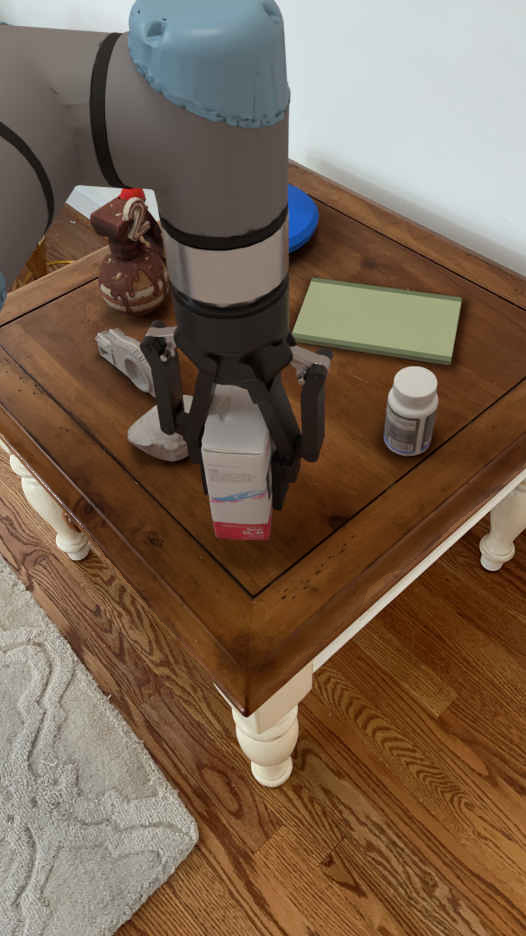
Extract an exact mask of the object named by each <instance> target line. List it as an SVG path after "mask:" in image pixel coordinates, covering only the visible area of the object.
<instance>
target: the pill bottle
mask: <svg viewBox="0 0 526 936" xmlns="http://www.w3.org/2000/svg"><path fill="white" fill-rule="evenodd" d="M437 389H438V379H437V377H436V375H435V374H434V372H433V371H431V370H429V369H427V368H425V367H423V366H416V365H415V366H414V365H413V366H412V365H411V366H407V367H404V368H402V369H400V370H399V371H398V372H396V374H395V375H394V378H393V383H392V387H391V389H390V390H389V392H388V395H387V401H386V411H385V419H384V428H383V429H384V430H383V441H384V443H385V446H386V447H387V448H388V449H389V450H390V451H391V452H393V453H394V454H396V455H399V456H403V457H413V456H417V455H420V454H422V453H424V452H426V451H427V450H428V448H429V447H430V444H431V442H432V437H433V433H434V427H435V423H436V417H437V412H438V411H437V410H438V406H439V396H438V393H437V391H438V390H437Z"/></svg>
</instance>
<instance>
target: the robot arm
mask: <svg viewBox="0 0 526 936" xmlns="http://www.w3.org/2000/svg"><path fill="white" fill-rule="evenodd" d="M286 50H287V49H286V36H285V21H284V17H283V14H282V11H281V8H280V6H279V5H278V4H277V2H276V0H135V2H133V4H132V6H131V8H130V11H129V15H128V31H124V32H117V31H114V32H108V31H94V30H93V31H92V30H81V29H79V30H78V29H65V28H52V27H39V26H38V27H37V26H27V25H25V26H24V25H15V24H11V23H10V24H8V23H7V22H5V21H0V313H1V312H2V310H3V309H4V306H5V305H6V300H7V298H8V293H9V292H10V289H11V288H12V286H13V285H14V283H15V282H16V280H17V278H18V277H19V275H20V274H21V272H22V270H23V269H24V268H25V266H26V264H27V263H28V261H29V259H30V258H31V256H32V255H33V253H34V252H35V250H36V248H37V247H38V246H39V244H40V242H41V240H42V239H43V238H44V236H45V235H46V234H47V232H48V231H49V229H50V228H51V226H52V225H53V224H54V221H55V220H56V218H57V217H58V216H59V213H60V212H61V210H62V209H63V207H64V206H65V204H66V202H68V199H69V198H70V196H71V195H72V193H73V191H74V190H75V188H76V187H79V186H83V187H85V186H86V187H94V188H95V187H96V188H108V189H110V188H112V189H121V190H122V189H133V188H139V189H143V190H150V191H153V193H154V197H155V201H156V206H157V212H158V213H157V214H158V219H159V222H160V226H161V227H160V229H161V231H162V233H161V235H162V238H163V243H164V250H165V258H166V265H167V272H168V275H169V279H170V286H169V288H170V293H171V294H170V295H171V299H172V306H173V312H174V318H175V324H176V326H167V325H166V323H164V322H163V321H162V320H159V319H158V320H157V319H156V320H153V321H152V322H151V323H150V325H149V327H148V329H147V330H146V332H145V335H144V336H143V338H142V340H141V342H140V350H141V352H142V353H143V355H144V357H145V358H146V360H147V362H148V364H149V365H150V367H151V373H152V379H153V385H154V392H155V397H154V399H155V403H156V405H157V410H158V416H159V422H160V429H161V431H162V432H163V433H165V434H167V435H173V434H174V433H177V434H179V435H181V436H183V440H184V441H185V442H186V443H187V449H188V454H189V455H188V459H189V461H190V463H191V464H192V465H199V470H200V477H201V483H202V488H203V495H204V496H208V497H209V494H208V488H207V482H206V475H205V469H204V463H203V457H202V451H201V449H202V438H203V435H204V430H205V422H206V420H207V418H208V414H209V408H210V404H211V401H212V398H213V395H214V393H215V389H216V386H217V384H219V385H235V386H237V387H240V388H243V389H247V391H248V393H249V395H250V398H251V400H252V402H253V404H257V405H258V407H259V409H260V412H261V414H262V416H263V419H264V421H265V423H266V426H267V428H268V430H269V433H270V435H271V437H272V440H273V442H274V445H275V447H276V449H275V452H274V455H273V458H272V461H271V476H272V503H273V510H275V511H279V512H282V510H283V506H284V504H285V501H286V497H287V494H288V491H289V487H290V484H295V483H296V482H297V480H298V477H299V474H300V470H301V463H302V459H303V460H304V461H306V462H308V463H312V464H313V463H316V462H318V460H319V457H320V454H321V450H322V447H323V443H324V439H325V438H326V387H325V386H326V381H327V377H328V374H329V371H330V368H331V364H332V361H333V357H334V353H333V351H332V349H330V348H329V347H326V346H322V347H319V348H317V350H316V351H315V352H313V351H311V350H308V349H306V348H304V347H301V346H299V345H297V342H296V340H295V338H294V336H293V335H292V331H291V328H290V275H289V272H288V271H289V267H290V256H289V255H290V253H289V209H288V184H289V145H290V143H289V142H290V141H289V140H290V139H289V138H290V135H289V134H290V132H289V131H290V104H291V95H292V94H291V88H290V86H289V82H288V70H287V69H288V68H287V56H286V55H287V53H286V52H287V51H286ZM179 350H180V351H181V352H182V353H183V355H184V356H185V357H187V359H188V360H189V361H190V362H191V363H192V364H193V365H194V366H195V367H196V368H197V369H198V372H197V377H196V381H195V384H194V388H193V390H194V392H193V395H192V396H193V399H192V403H191V407H190V411H189V413H186V412H184V411H185V408H184V400H183V395H184V393H183V391H184V390H183V384H182V374H181V368H180V358H179V357H180V356H179ZM289 365H290V366H292V367H293V368H294V370H295V377H296V378H297V382H296V383H297V384H298V385H299V386H302V387H301V391H300V396H299V397H300V401H299V402H300V422H301V423H300V424H301V425H300V426H301V428H300V426H299V424H298V421H297V419H296V416H295V413H294V411H293V408H292V406H291V403H290V402H291V401H290V400H289V397H288V395H287V392H286V389H285V387H284V384H283V381H282V371H283V370H285V369H286V368H287V367H288V366H289Z"/></svg>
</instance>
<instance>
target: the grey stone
mask: <svg viewBox="0 0 526 936" xmlns="http://www.w3.org/2000/svg"><path fill="white" fill-rule="evenodd" d="M193 396H194V395H189V394H183V400H184V408H185V411H184V412H186V413H189V411H190V407H191V403H192V399H193ZM207 419H208V418H207ZM206 422H207V420H206ZM206 422H205V425H206ZM127 440H128V442H129V443H130V444H131V445H132V446H135V447H136V448H137V449H139V450H141V451H142V452H145V454H147V455H150V456H151V457H153V458H156V459H159V460H163V461H167V462H168V461H169V462H177V461H180V460H183V459H185V458H187V457H189V454H188V449H187V443H186V442H185V441H184V440H183V436H181V435H179V434H177V433H174V434H173V435H167V434H165V433H163V432H162V431H161V429H160V422H159V416H158V410H157V404H156V405H153V407H152V408H151V409H149V410H148V411H147V412H146V413H144V414H143V415H142V416H141V417H140V418H138V419H137V420H135V422H134V423H133V424H132V425H130V427H129V429H128V430H127Z"/></svg>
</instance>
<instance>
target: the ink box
mask: <svg viewBox="0 0 526 936" xmlns="http://www.w3.org/2000/svg"><path fill="white" fill-rule="evenodd" d="M275 449H276V447H275V445H274V442H273V440H272V437H271V435H270V433H269V430H268V428H267V426H266V423H265V421H264V419H263V416H262V414H261V412H260V409H259V407H258V405H257V404H253V402H252V400H251V398H250V395H249V393H248V391H247V389H243V388H240V387H237V386H235V385H219V384H217V386H216V389H215V393H214V395H213V398H212V401H211V404H210V408H209V414H208V419H207V422H206V425H205V430H204V435H203V438H202V449H201V451H202V457H203V463H204V469H205V475H206V482H207V488H208V494H209V496H208V498H209V499H208V501H209V506H210V513H211V519H212V525H213V531H214V536H215V537H216V538H218V539H223V540H224V539H225V540H234V541H269V540H270V534H271V526H272V521H273V520H272V519H273V510H274V509H273V503H272V476H271V461H272V458H273V455H274V452H275Z"/></svg>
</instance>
